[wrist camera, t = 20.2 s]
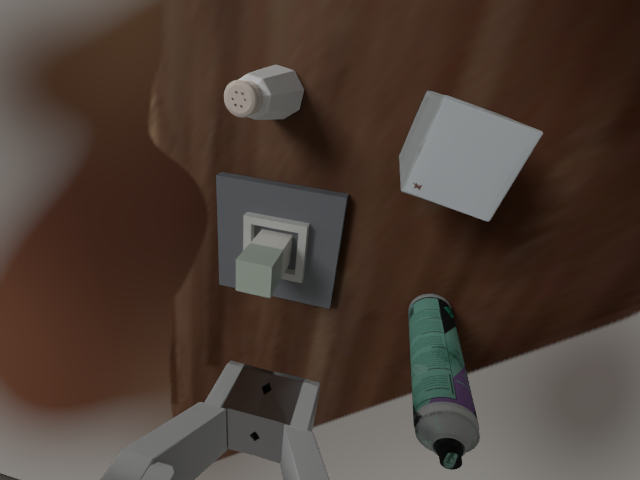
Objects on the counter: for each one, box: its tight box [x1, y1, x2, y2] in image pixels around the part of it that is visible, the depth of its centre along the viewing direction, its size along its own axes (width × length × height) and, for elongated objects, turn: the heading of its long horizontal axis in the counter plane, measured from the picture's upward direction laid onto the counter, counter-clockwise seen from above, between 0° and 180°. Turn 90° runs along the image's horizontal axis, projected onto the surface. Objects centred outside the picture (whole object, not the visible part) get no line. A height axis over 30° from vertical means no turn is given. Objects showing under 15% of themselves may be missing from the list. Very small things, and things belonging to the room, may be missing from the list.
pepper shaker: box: [224, 65, 304, 120], centre depth 32 cm, size 5×5×11 cm
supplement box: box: [399, 91, 543, 222], centre depth 30 cm, size 7×7×13 cm
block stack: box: [236, 229, 293, 298], centre depth 40 cm, size 4×4×8 cm
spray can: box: [409, 294, 480, 469], centre depth 36 cm, size 6×6×20 cm
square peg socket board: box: [216, 172, 349, 309], centre depth 44 cm, size 16×16×3 cm
